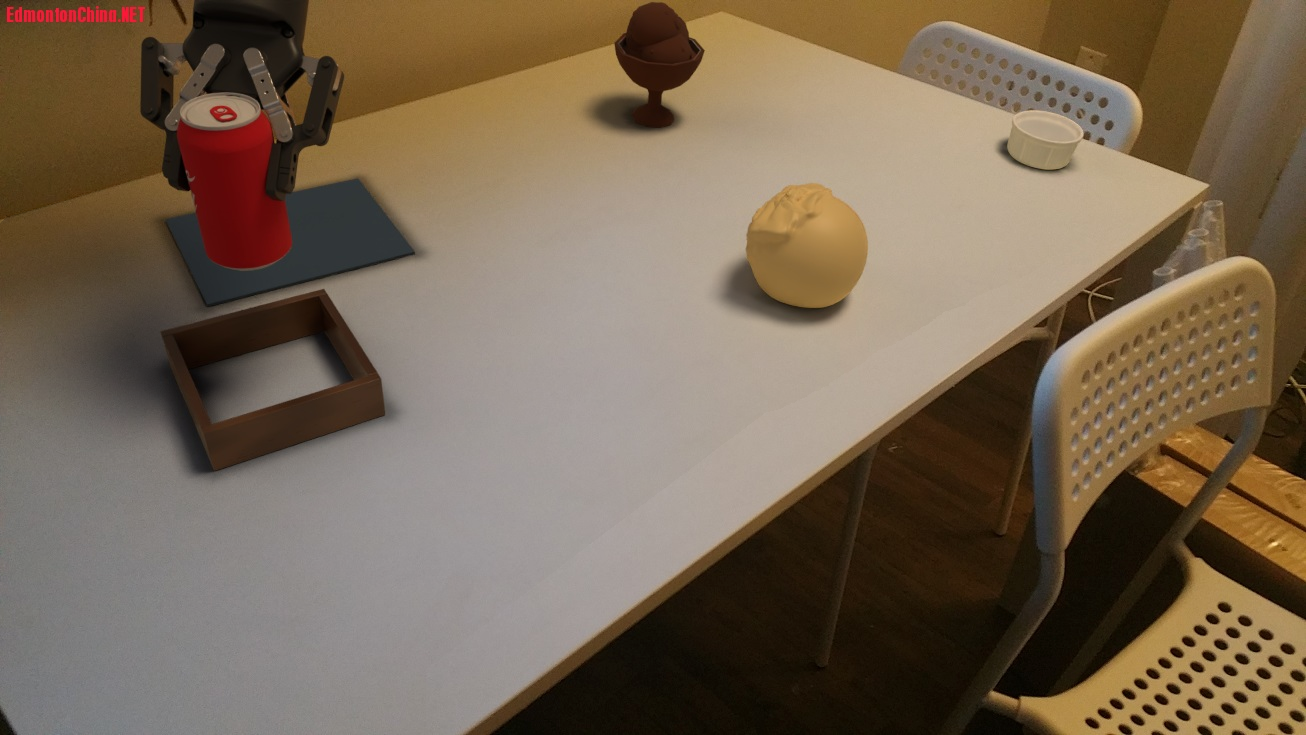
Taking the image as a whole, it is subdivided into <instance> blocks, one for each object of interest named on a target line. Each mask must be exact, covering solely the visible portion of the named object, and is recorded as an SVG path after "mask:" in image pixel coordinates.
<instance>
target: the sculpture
mask: <svg viewBox="0 0 1306 735" xmlns="http://www.w3.org/2000/svg"><path fill="white" fill-rule="evenodd" d="M745 253H746V261H747V262H748V263H749V265H750V268H751V271H752V275H753V277H754V279H755V281H756V283H757V284H758V286H759V287H760V288H761V289H762V290H763V292H764V293H765V294H767V295H768V296H769V297H770V298H772V299H773V300H775V301H778V302H780V303H783V304H786V305H790V306H794V307H799V308H806V309H807V308H808V309H818V308H819V309H821V308H827V307H830V306H833V305H835V304H837V303H839V302H841V301H842V300H843V299H845V298H846V297H847V296H848V295H849V294H850V293H851V292H852V290H854V288H855V287H856V285H857V284H858V283H859V281H860V279H861V277H862V275H863V273H864V270H865V268H866V265H867V261H868V253H869V241H868V235H867V231H866V227H865V225H864V222H863V220H862V219H861V218H860V216H859V214H858V213H857V212H856V210H855V209H853V207H851V206H850V205H849V204H848V203H847V202H845V201H844V200H842V199H840V198H838V197H836V196H834V195H833V190H832V189H831V188H829V187H825V186H824V185H822V184H821V183H818V182H810V183H809V182H808V183H804V184H788V185H786V186H785V187H784V188H783V189H782V190H781V191H779V192H778V193H776V194H775V195H774V196H772V197H771V199H769V200H767V201H765V203H764V204H763V205H762V206H761V207H759V208H757V209H756V211H755V213H754V214H753V216H752V218H751V222H749V224H748V227H747V232H746V246H745Z"/></svg>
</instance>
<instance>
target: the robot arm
mask: <svg viewBox="0 0 1306 735" xmlns="http://www.w3.org/2000/svg"><path fill="white" fill-rule="evenodd" d="M309 2H310V0H193V6H192V27H191V30H190V32H189V33H188V35H187V36H186V37H185V39H184V40H183V42H160V41H159V40H158V39H157V38H155V37H153V36H147V37H145V38H144V39H143V40H142V41H141V51H140V53H141V54H140V102H139V103H140V106H139V107H140V109H139V110H140V115H141V116H142V118H144V119H145V120H146V121H148V122H149V123H151V124H152V125H154V126H155V127H157V128H158V129H160V130H163V131H164V132H165V135H166V136H165V143H164V151H163V158H162V165H161V171H162V176H163V177H164V178H166V179H167V183H168V186H170V187H172V188H173V189H175V190H177V191H179V192H181V191H182V192H191V191H190V187H189V183H188V179H187V175H186V171H185V167H184V163H183V159H182V155H181V151H180V147H179V143H178V139H177V128H178V124H179V121H180V117H181V116H180V109H181V107H182V106H183V105H184V104H185V103H186V102H188V101H189V100H191V99H194V98H196V97H199V96H202V95H206V94H212V93H226V92H228V93H238V94H243V95H247V96H249V97H252V98H253V99H255V100H256V101H257V102H258V103H259V105H260V109H261V110H262V111H264V112H265V113H266V116H267V118H268V120H269V122H270V123H271V126H272V131H273V134H274V136H275V137H276V140H275V141H276V142H275V143H272V146H271V152H270V157H269V165H268V173H267V181H266V195H267V196H268V197H269V198H271V199H272V200H275V201H284V200H285V198H286V194H291V193H292V192H294V191H295V188H296V179H297V172H298V165H299V157H300V153H301V152H302V151H303V150H304V149H305V148H308V147H312V146H317V147H324V146H326V145H328V143H329V140H330V137H331V132H332V129H333V125H334V121H335V117H336V113H337V109H338V104H339V101H340V97H341V93H342V88H343V84H344V80H345V73H344V71H343V70H342V68H341V67H340V65H339V64H338V63H337V61H336V60H335V59H334V58H333V57H332V56H330V55H324V56H322V57H320V58H317V57H312V56H308V55H306V54H305V52H304V47H303V46H304V45H303V44H304V40H305V35H306V26H307V19H308V12H309ZM186 61H187V63H188V65H189V67H190V68H191V70H192V74H190V76H189V78H188V79H187V81H186V82H185V84H184V85H183V86H182V87H181V89H180V91H179V98H178V100H177V102H176V103H175V104H174V88H175V86H174V84H175V83H174V80H175V79H174V78H175V76H176V75H179V74H180V71H181V66H182V65H183V63H185V62H186ZM305 74H306V81H307V83H308V85H309V86H310V87H311V90H310V92H309V96H308V101H307V105H306V109H305V113H304V117H303V121H302V123H299V124H297V122H296V116H295V113H294V110H293V108H292V106H291V105H292V104H291V103H290V100H289V98H288V95H287V93H288V91H289V90H290V89H291V88H292V87H293V86H294V85H295V84H296V83H297V82H298V81H299V80H300V78H302V76H303V75H305ZM227 96H236V95H227ZM237 97H240V96H237Z"/></svg>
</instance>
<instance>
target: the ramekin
mask: <svg viewBox="0 0 1306 735" xmlns="http://www.w3.org/2000/svg"><path fill="white" fill-rule="evenodd" d="M1084 134H1085V133H1084V130H1083V128H1082V127H1081V126H1080V125H1079V124H1078V123H1077V122H1075V121H1074V120H1072V119H1070V118H1069V117H1066V116H1063V115H1062V114H1058V113H1055V112H1051V111H1046V110H1038V109H1037V110H1034V109H1032V110H1031V109H1030V110H1023V111H1019V112H1017V113H1016V114H1014V115H1013V116H1012V121H1011V129H1010V133H1009V137H1008V141H1007V146H1006V147H1007V151H1008V153H1009V155H1010V157H1012V158H1013V159H1014V160H1015V161H1017V162H1019V163H1021V164H1022V165H1025V166H1028V167H1031V168H1034V169H1039V170H1045V171H1047V170H1049V171H1051V170H1059V169H1062V168H1064V167H1066V166H1067V165H1068V164H1069V163H1070V162H1071V159H1072V157H1073V155H1074V153H1075V151H1076V149H1077V147H1078V146H1079V144H1080V142H1082V140H1083V138H1084Z"/></svg>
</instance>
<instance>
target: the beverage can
mask: <svg viewBox="0 0 1306 735" xmlns="http://www.w3.org/2000/svg"><path fill="white" fill-rule="evenodd" d="M205 94H206V93H205ZM205 94H204V95H202V96H199V97H196V98H194V99H191V100H189V101H188V102H186V103H185V104H184V105H183V106H182V107H181V109H180V116H181V117H180V121H179V124H178V128H177V139H178V143H179V147H180V151H181V155H182V159H183V163H184V167H185V171H186V175H187V179H188V183H189V187H190V191H189V192H190V194H191V199H192V202H193V206H194V210H195V213H196V215H197V219H198V223H199V227H200V231H201V235H202V239H203V243H204V247H205V251H206V254H207V256H208V257H209V259H210V260H211V261H213V262H214V263H216V264H218V265H220V266H222V267H225V268H229V269H234V270H240V271H251V270H258V269H262V268H265V267H268V266H270V265H272V264H274V263H276V262H277V261H279V260H280V259H282V258H283V257H284V256H285V255H286V254H287V253H288V252H289V250H290V249H291V246H292V237H291V231H290V226H289V220H288V214H287V209H286V203H285V200H284V201H275V200H272V199H271V198H269V197H268V196H267V195H266V181H267V173H268V165H269V157H270V152H271V146H272V143H276V142H275V137H274V136H275V135H274V130H273V128H272V125H271V122H270V120H269V117H268V116H267V115H266V114H265V113H264V112H263V110H261V109H260V105H259V103H258V102H257V101H256V100H255V99H253V98H252V97H249V96H247V95H243V94H238V93H228V92H226V93H212V94H206V95H205ZM227 95H236V96H227ZM237 96H240V97H237Z"/></svg>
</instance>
